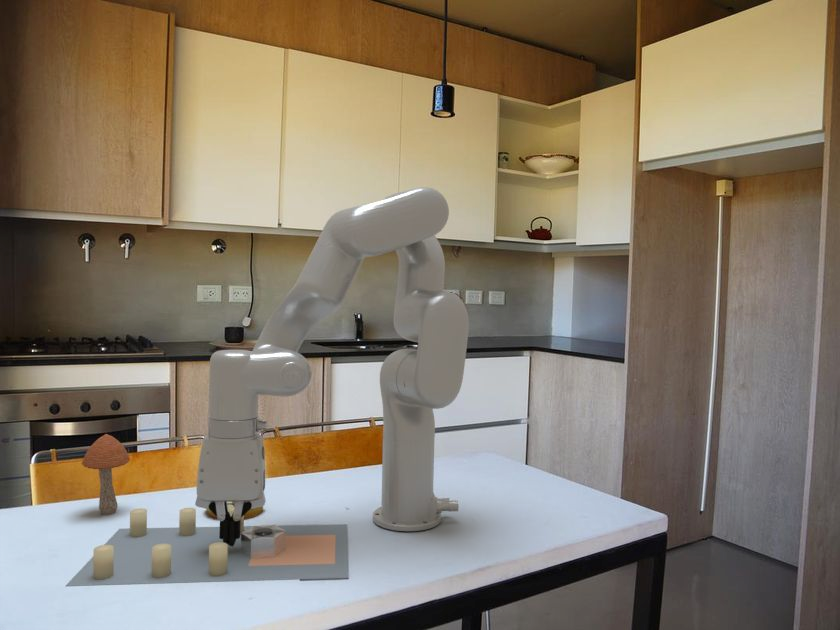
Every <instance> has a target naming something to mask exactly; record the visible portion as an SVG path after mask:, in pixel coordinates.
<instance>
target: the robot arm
mask: <svg viewBox="0 0 840 630" xmlns="http://www.w3.org/2000/svg"><path fill="white" fill-rule="evenodd" d="M449 214H450V209H449V204H448V202H447V199H446V198H445V196H444V195H443V194H442V193H441V192H440V191H438V190H437V189H435V188H432V187H429V186H420V187H416V188H412V189H408V190H404V191H400V192H396V193H392V194H390V195H388V196H386V197H385V198H383V199H381V200H378V201H374V202H370V203H365V204H361V205H357V206H353V207H349V208H344V209H342V210H338V211H336V212H335V213H333V215H331V216H330V218H328V220H327V221H326V223H325V224H324V226H323V228H322V231H321V232H320V235H319V236H318V238H317V241H316V242H315V244H314V247H313V249H312V250H311V253H310V255H309V256H308V258H307V261H306V262H305V264H304V266H303V268H302V270H301V272H300V274H299V277H298V278H297V280H296V282H295V284H294V285H293V286H292V287H291V289H290V290H289V292H288V293H286V295H285V296H284V298H283V299H282V301H281V302H280V303H279V305H278V306H277V307H276V308H275V310H274V311H273V313H272V314H271V315H270V317H269V318H268V320H267V322H266V324H265V325H264V327H263V329H262V331H261V333H260V335H259V336H258V338H257V341H256V343H255V345H254V346H253V349H252V350H246V349H221V350H220V349H219V350H217V351H215V352H213V353H212V354H211V355H210V356H211V357H210V359H209V361H210V362H209V379H208V380H209V389H208V421H207V434H205V435H204V436H203V439H202V444H201V446H200V447H201V448H200V451H199V452H200V453H199V458H198V468H197V477H196V499H195V503H194V504H195V506H196V507H197V508H202V509H205V510H206V509H210V510H211V511H212V512H213V513H214V514H215V515H216V516H217V518H218V519H217V518H216V519H217V520H218V521H219V527H220V534H219V538H220V539H223V542H224V543H227V544H229V545H230V546H234V544H235V542H236V539H239V538H240V528H241V517H242V516H243V515H245V514H246V513H247V512H248V511H249V510H250V509H254V508H258V507H262V506H263V507H264V506H265V504H266V503H267V502H266V501H267V500H266V496H265V489H266V456H265V453H266V451H265V443H264V438H263V435H262V434H258V433H259V432H260V431H266V430H267V429H268V428H267V426H268V425H267V424H268V422H267V421H265V420H262V419H260V418H259V415H258V414H259V413H258V412H259V410H258V409H259V396H260V395H261V396H272V397H283V398H284V397H285V398H286V397H287V398H288V397H293V396H296V395H299V394H300V393H302V392H303V391H304V390H305V389H306V388H308V386H309V385H310V382H311V380H312V368H311V367H312V366H311V365H310V362H309V361H308V360H307V358H306V357H305V356H304V355H302V354H301V353H299V350H300V348H301V346H302V344H303V342H304V341H305V339H306V338H307V336H308V335H309V333H311V331H312V330H313V329H314V328H315V327H316V326H317V325H318V324H320V323H321V322H322V321H324V320H325V319H327V318H329V317H330V316H332V315H333V314H334V313H335V312H337V311H338V310H339V309H340V308H341V306H342V305H343V303H344V302H345V300H346V297H347V295H348V294H349V291H350V289H351V287H352V284H353V283H354V280H355V278H356V277H357V274H358V272H359V270H360V268H361V266H362V264H363V262H364V260H365V258H370V257H377V256H380V255H384V254H387V253H390V252H393V251H394V252H395V253H396V255H397V260H398V276H397V277H398V279H397V285H396V287H397V288H396V293H395V294H396V295H395V302H394V309H393V311H394V312H393V327H394V330H395V331H396V333H397V334H398V335H399V336H400V337H401V338H402V339H404V340H406V341H410V342H415V343H417V349H415V348H414V349H413V348H400V349H398V350H396V351H393V352H392V353H390V354H389V355H388V356H387V357H386V358H385V359H384V361H383V363H382V365H381V367H380V372H379V389H380V394H381V395H380V396H381V400H382V401H381V402H382V403H381V404H382V415H383V416H382V417H383V418H382V421H383V425H382V427H383V428H382V429H383V430H382V459H381V460H382V462H381V463H382V465H381V468H382V471H381V473H382V474H381V506H379V507H378V508H376V509H375V510H374V511H373V513H372V521H373V522H374V523H375V525H377V526H379V527H381V528H384V529H387V530H391V531H398V532H419V531H420V532H421V531H427V530H429V529H432V528H435V527H436V526H439V524H440V523H441V521H442V512H448V513H449V512H459V500H450V498H449V497H442V498H438V497H437V496H436V495H435V493H434V475H435V474H434V472H435V468H434V467H435V466H434V465H435V464H434V463H435V439H436V434H435V433H436V422H435V415H434V410H436V409H443V408H446V407H448V406H450V405H451V404H452V403H454V401H455V400H456V398H458V395H459V393H460V391H461V389H462V388H461V387H462V385H463V379H464V372H465V365H466V356H467V347H468V339H469V332H470V331H469V329H470V328H469V327H470V321H469V320H470V319H469V315H468V310H467V308H466V305H465V304H464V302H463V301H462V299H461V298H460V297H459V296H458V295H455V293H452V292H450V291H445V290H444V287H445V271H446V260H445V256H444V255H445V254H444V251H443V248H442V246H441V244H440V242H439V240H438V238H437V236H436V235H438V234H439V233H440V232H441V231H442V230H443V229H444V228H445V227H446V224H447V222H448V220H449ZM433 409H434V410H433ZM227 502H236V503H235V508H234V513H233V515H232V516H230V513H229V512H228V505H227Z"/></svg>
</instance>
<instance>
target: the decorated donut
mask: <svg viewBox="0 0 840 630" xmlns="http://www.w3.org/2000/svg"><path fill="white" fill-rule="evenodd" d="M235 503H236V502H227V505H228V509H230V508H233V507H235ZM263 509H264V506H262V507H258V508H254V509H250V510H249V511H248V512H247V513H246V514H245V515H244V520H246V519H251V518H255V517H257V516H258V515H259V514H261V513H262V512H263ZM205 510H206V512H207V514H208V515H209V516H210V517H211V518H214V519H217V520H218V518H217V516H216V515H215V514H214V513H213V512H212V511H211V510H210V509H205Z"/></svg>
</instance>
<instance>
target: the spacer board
mask: <svg viewBox="0 0 840 630" xmlns="http://www.w3.org/2000/svg"><path fill="white" fill-rule="evenodd" d="M234 508H235V507H233V508H230V509H228V512H229V513H230V516H232V515H233V513H234ZM147 519H148V509H146V508H135V509H132V510H130V512H129V528H118V530H117V531H116V532H114V534H113V535H112V536H111V537H110V538H109V539H108V540H107V541H106V542H105V544H102V545H99V546H96V547H94V548H93V556H92V557H91V558H90V559H89V560H88V561H87V562H86V564H85V565H83V567H82V568H81V569H79V571H77V573H76V574H75V575H74V576H73V577H72V578H71V579H70V580H69V581H68V582H67V584H66V585H65V587H85V586H87V587H92V586H93V587H94V586H119V585H120V586H122V585H123V586H125V585H129V586H130V585H157V584H158V585H160V584H162V585H163V584H164V585H165V584H188V583H189V584H193V583H222V582H223V583H224V582H225V583H226V582H249V581H250V582H254V581H255V582H256V581H257V582H258V581H259V582H260V581H262V582H264V581H288V580H289V581H291V580H294V581H295V580H299V581H323V580H326V581H327V580H329V581H330V580H348V579H349V552H348V551H349V548H348V547H349V544H348V543H349V542H348V524H347V523H342V524H341V523H335V524H332V523H331V524H295V525H294V524H291V525H289V524H287V525H285V524H284V525H278V524H277V526H278V527H280V528H281V529H283V530H285V531H286V549H285V550H284V551H283V552H281V553H280V554H278V555H277V556H275V557H274V558H257V559H251V558H249V557H248V556H246V555H245V554H243V553H242V552H241V533H242V532H244V531H246V530H247V529H249V528H251V527H253V526H254V525H244V523H245V519H244V515H243V516H242V517H241V528H240V538H239V539H236V542H235V544H234V546H230V545H229V544H227V543H224V542H223V539H220V538H219V534H220V526H196V525H197V524H196V522H197V520H196V519H197V509H196V508H195V507H185V508H181V509H180V510H179V519H178V520H179V522H178V523H179V527H148V526H147V525H148V524H147V523H148V520H147Z"/></svg>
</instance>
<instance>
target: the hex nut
mask: <svg viewBox="0 0 840 630" xmlns="http://www.w3.org/2000/svg"><path fill="white" fill-rule="evenodd" d="M252 526H253V527H251V528H249V529H247V530H246V531H244V532H242V533H241V552H242V553H243V554H245V555H246V556H248V557H249V558H251V559H257V558H274V557H275V556H277V555H278V554H280V553H281V552H283V551H284V550H285V549H286V531H285V530H283V529H281V528H280V527H278V525H276V524H268V525H267V524H266V525H264V524H263V525H252Z"/></svg>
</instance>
